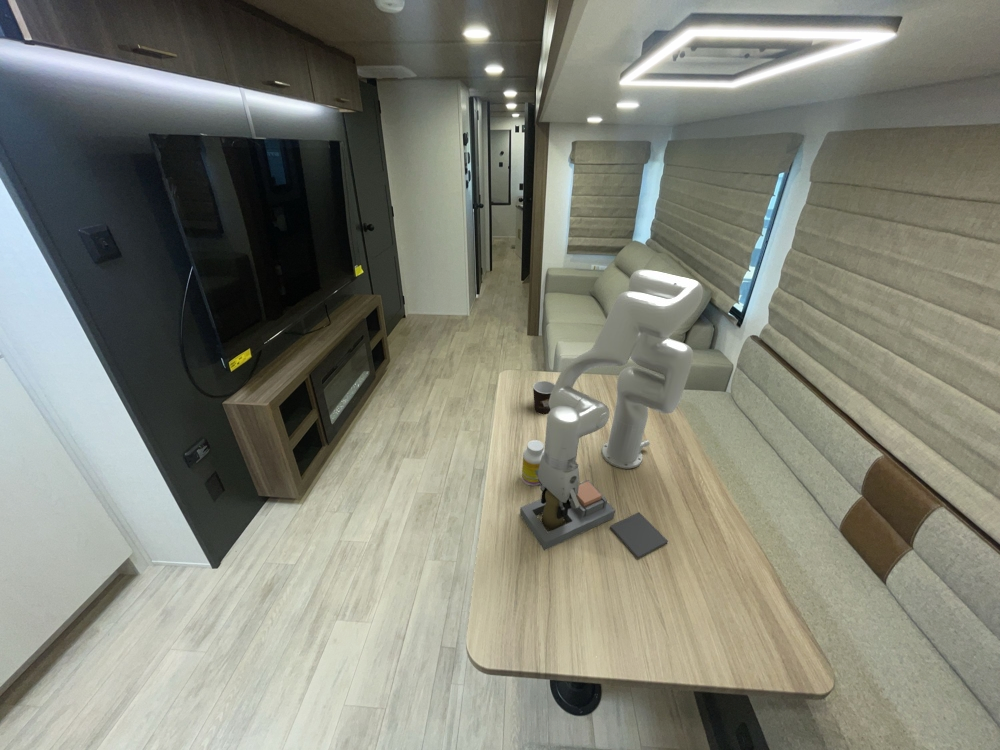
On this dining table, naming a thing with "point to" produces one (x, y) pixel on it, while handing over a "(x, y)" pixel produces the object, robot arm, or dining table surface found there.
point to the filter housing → (575, 519)
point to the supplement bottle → (532, 462)
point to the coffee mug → (542, 396)
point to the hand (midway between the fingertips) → (554, 507)
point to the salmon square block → (587, 494)
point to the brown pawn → (551, 512)
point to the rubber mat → (638, 535)
